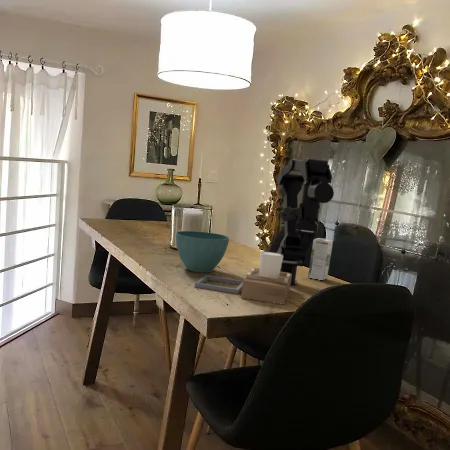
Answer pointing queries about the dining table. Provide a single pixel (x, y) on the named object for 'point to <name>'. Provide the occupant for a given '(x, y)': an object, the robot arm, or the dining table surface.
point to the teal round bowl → (201, 249)
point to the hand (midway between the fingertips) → (304, 251)
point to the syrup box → (320, 259)
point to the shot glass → (270, 264)
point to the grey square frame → (219, 288)
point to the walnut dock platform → (266, 287)
